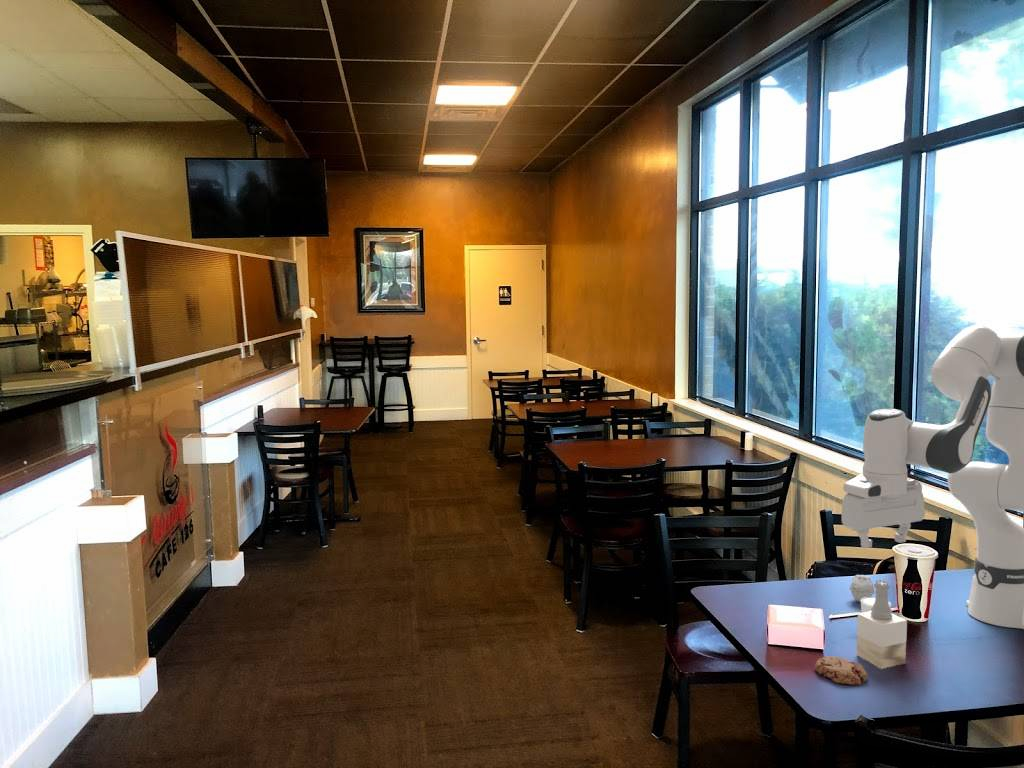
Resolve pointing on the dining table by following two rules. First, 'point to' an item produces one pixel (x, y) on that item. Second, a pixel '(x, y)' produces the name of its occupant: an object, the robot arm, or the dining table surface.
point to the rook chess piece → (881, 602)
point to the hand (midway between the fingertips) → (883, 544)
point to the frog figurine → (861, 587)
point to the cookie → (841, 670)
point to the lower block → (881, 653)
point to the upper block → (882, 629)
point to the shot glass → (868, 604)
